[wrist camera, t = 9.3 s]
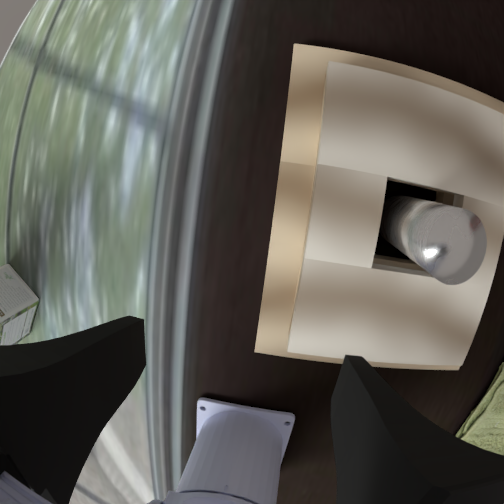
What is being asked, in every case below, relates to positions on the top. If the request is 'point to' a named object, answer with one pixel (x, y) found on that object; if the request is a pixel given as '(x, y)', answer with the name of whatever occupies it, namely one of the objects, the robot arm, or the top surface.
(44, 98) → the top surface
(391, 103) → the collar stand
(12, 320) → the syrup box
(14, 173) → the top surface
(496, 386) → the washcloth
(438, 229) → the tube
